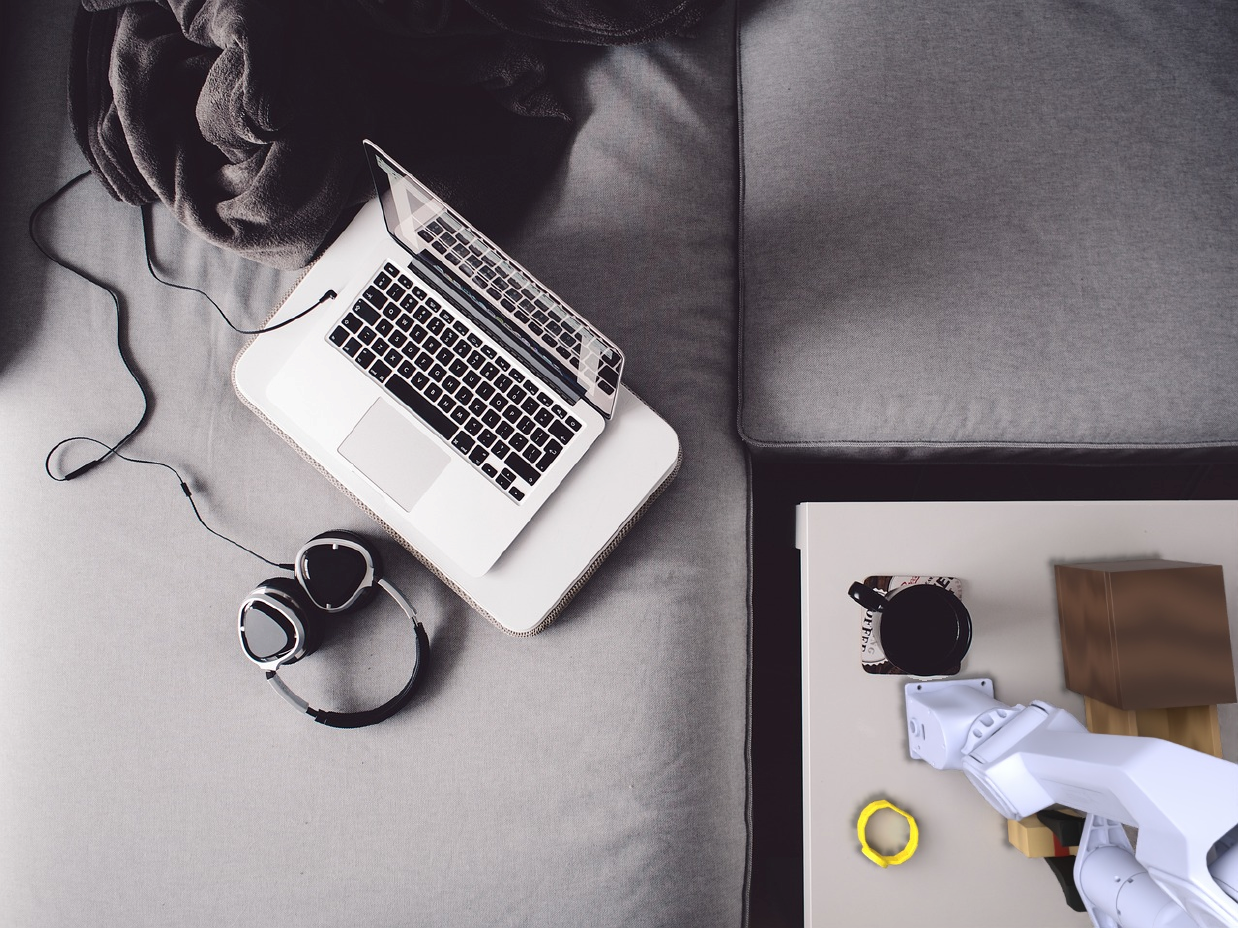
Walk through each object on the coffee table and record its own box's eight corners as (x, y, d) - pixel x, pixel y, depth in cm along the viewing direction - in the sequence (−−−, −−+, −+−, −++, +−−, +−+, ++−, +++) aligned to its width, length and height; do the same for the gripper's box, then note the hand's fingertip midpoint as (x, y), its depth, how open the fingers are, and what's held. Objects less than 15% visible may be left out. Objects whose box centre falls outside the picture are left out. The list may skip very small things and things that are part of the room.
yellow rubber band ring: (871, 787, 75) (843, 836, 74) (881, 795, 72) (851, 846, 71) (919, 821, 74) (891, 870, 73) (931, 830, 72) (902, 881, 71)
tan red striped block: (1008, 841, 74) (1029, 859, 71) (1005, 812, 74) (1026, 827, 71) (1072, 837, 74) (1096, 854, 71) (1069, 807, 75) (1093, 823, 71)
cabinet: (1167, 681, 76) (1237, 703, 67) (1065, 688, 75) (1123, 710, 67) (1155, 558, 76) (1222, 565, 68) (1053, 564, 76) (1109, 572, 68)
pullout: (1181, 801, 74) (1238, 831, 67) (1087, 808, 74) (1135, 838, 67) (1164, 644, 75) (1219, 657, 68) (1072, 650, 75) (1118, 664, 68)
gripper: (1203, 989, 59) (1091, 899, 73) (1184, 815, 60) (1078, 758, 73) (1122, 995, 59) (1025, 904, 72) (1105, 821, 60) (1012, 763, 73)
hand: (1047, 831), depth 73 cm, fingers closed on tan red striped block, 3 cm apart
